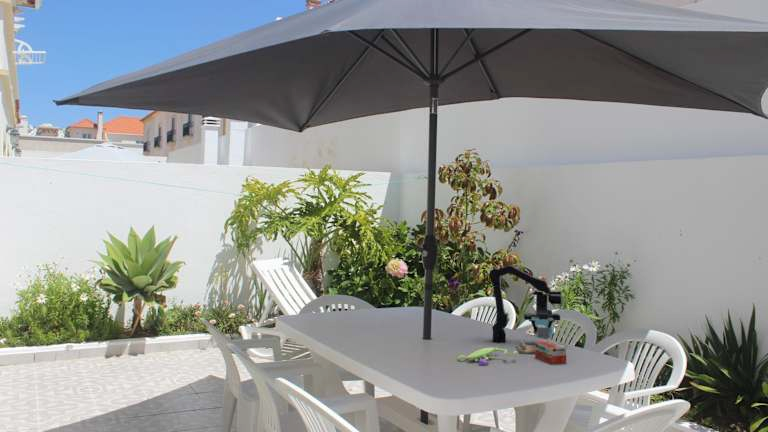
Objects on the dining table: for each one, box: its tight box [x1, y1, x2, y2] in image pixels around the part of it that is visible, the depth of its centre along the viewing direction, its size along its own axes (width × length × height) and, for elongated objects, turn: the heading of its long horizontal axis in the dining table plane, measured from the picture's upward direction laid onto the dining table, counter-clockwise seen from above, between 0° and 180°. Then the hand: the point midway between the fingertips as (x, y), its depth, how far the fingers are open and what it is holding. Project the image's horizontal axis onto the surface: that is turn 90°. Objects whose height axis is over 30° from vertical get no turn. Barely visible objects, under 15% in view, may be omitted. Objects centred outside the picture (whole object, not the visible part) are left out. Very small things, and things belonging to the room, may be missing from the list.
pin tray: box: [515, 340, 535, 355], centre depth 337 cm, size 16×16×4 cm
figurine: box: [457, 346, 519, 366], centre depth 316 cm, size 18×27×6 cm
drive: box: [533, 325, 550, 339], centre depth 353 cm, size 6×10×5 cm, turn 0°
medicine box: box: [534, 340, 567, 365], centre depth 316 cm, size 15×8×8 cm, turn 19°
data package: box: [534, 313, 553, 339], centre depth 374 cm, size 12×4×12 cm, turn 19°
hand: (541, 332), depth 353 cm, fingers closed on drive, 6 cm apart
